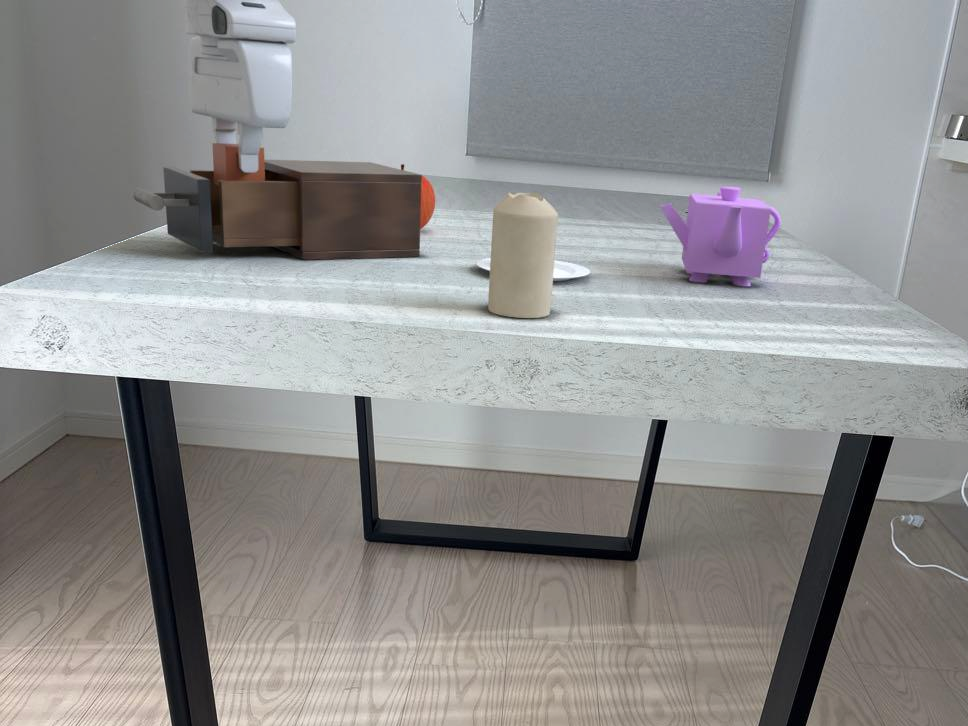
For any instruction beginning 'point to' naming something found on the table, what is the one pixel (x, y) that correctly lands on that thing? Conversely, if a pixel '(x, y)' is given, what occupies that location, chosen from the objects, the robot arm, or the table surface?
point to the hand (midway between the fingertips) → (238, 169)
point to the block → (234, 164)
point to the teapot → (724, 235)
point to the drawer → (227, 209)
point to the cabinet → (354, 209)
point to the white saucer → (560, 269)
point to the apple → (426, 201)
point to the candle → (522, 256)
